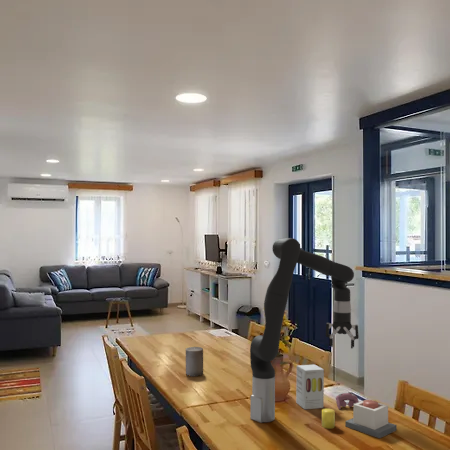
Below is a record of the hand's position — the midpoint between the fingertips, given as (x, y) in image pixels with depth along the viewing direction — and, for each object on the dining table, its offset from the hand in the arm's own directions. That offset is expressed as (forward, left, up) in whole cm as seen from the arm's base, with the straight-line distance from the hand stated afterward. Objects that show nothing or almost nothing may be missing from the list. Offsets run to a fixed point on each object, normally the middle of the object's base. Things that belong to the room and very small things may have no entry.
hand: (341, 347), depth 213 cm
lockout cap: (-24, -11, -26) cm, 37 cm away
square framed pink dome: (-13, -23, -26) cm, 36 cm away
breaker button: (-13, -23, -20) cm, 33 cm away
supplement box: (-11, +9, -26) cm, 29 cm away
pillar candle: (-21, +81, -26) cm, 88 cm away
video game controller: (0, -3, -26) cm, 26 cm away
